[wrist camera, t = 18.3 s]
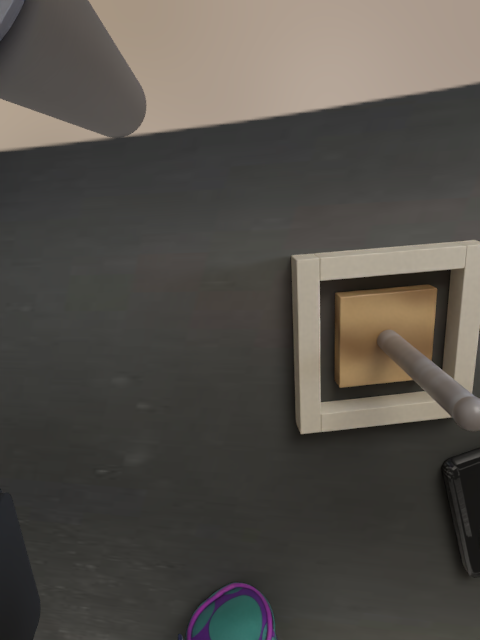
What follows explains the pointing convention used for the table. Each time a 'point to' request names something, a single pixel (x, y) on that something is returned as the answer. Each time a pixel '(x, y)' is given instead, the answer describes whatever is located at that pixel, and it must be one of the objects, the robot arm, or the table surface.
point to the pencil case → (233, 616)
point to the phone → (465, 505)
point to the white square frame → (309, 269)
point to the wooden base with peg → (396, 346)
